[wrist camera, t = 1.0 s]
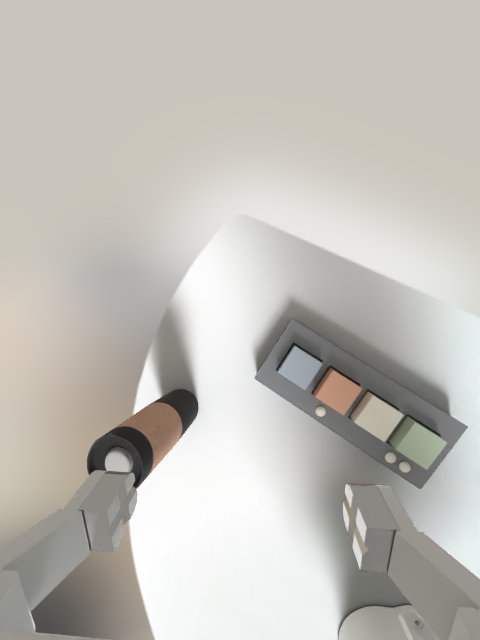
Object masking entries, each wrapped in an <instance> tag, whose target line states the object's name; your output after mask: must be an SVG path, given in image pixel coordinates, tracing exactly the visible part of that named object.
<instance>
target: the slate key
mask: <svg viewBox="0 0 480 640" xmlns="http://www.w3.org/2000/svg"><path fill="white" fill-rule="evenodd" d="M321 366H322V362H321V361H320V360H319V359H317V358H316V357H314V356H313V355H311V354H309V353H308V352H306V351H305V350H303V349H301V348H300V347H298V346H297V345H295V344H293V345H292V347H291V349H290V350H289V352H288V353H287V355H286V356H285V358H284V359H283V361H282V362H281V364H280V366H279V367H278V373H279V374H281V375H282V376H284V377H285V378H287V379H288V380H290V381H292V382H293V383H295V384H296V385H298V386H299V387H301V388H302V389H304V390H306V388H307V387H308V385H309V384H310V382H311V381H312V379H313V378H314V376H315V375H316V373H317V372H318V370H319V369H320V367H321Z"/></svg>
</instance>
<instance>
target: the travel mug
mask: <svg viewBox="0 0 480 640" xmlns="http://www.w3.org/2000/svg"><path fill="white" fill-rule="evenodd" d="M197 413H198V403H197V400H196V398H195V397H194V396H193V395H192V394H191V393H190V392H188V391H186V390H182V389H179V390H174V391H172V392H170V393H168V394H167V395H165V396H163V397H162V398H160V399H158V400H156V401H155V402H153V403H151V404H150V405H148V406H146V407H145V408H144V409H142V410H141V411H139V412H138V413H136V414H135V415H133V416H132V417H130V418H129V419H127V420H126V421H124V422H123V423H122V424H120V425H118V426H117V427H115V428H114V429H113V430H111V431H110V432H108V433H107V434H105V435H104V436H102V437H101V438H99V439H98V440H96V441H95V442H94V444H93V445H92V447H91V449H90V451H89V453H88V457H87V469H88V474H89V475H90V474H91V473H92V472H94V471H95V470H102V471H117V472H130V473H134V476H135V482H134V484H133V486H134V487H135V489H137V488H138V487H139V486H140V484H141V483H142V482H143V481H144V480H145V479H146V478H147V476H148V475H149V474H150V473H151V472H152V471H153V470H154V468H155V467H156V466H157V465H158V464H159V463H160V461H161V460H162V459H163V458H164V457H165V456H166V455H167V453H168V452H169V451H170V450H171V449H172V448H173V447H174V445H175V444H176V443H177V442H178V441H179V439H180V438H181V437H182V435H183V434H184V433H185V431H186V430H187V429H188V427H189V426H190V425H191V424H192V422H193V421H194V419H195V418H196V416H197Z"/></svg>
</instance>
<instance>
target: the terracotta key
mask: <svg viewBox="0 0 480 640" xmlns="http://www.w3.org/2000/svg"><path fill="white" fill-rule="evenodd" d="M361 390H362V388H361V387H360V386H359V385H357V384H356V383H355V382H354V381H352V380H351V379H349V378H347V377H346V376H344V375H343V374H341V373H340V372H338V371H336V370H335V369H333V368H332V367H330V366H329V367H328V368H327V370H326V371H325V373H324V374H323V376H322V377H321V379H320V380H319V382H318V383H317V385H316V386H315V388H314V389H313V393H314V395H315V397H316V398H318V399H319V400H321V401H322V402H324V403H325V404H327V405H328V406H330V407H331V408H333V409H334V410H336V411H337V412H339V413H340V414H342V415H345V413H346V412H347V410H348V409H349V407H350V406H351V405H352V403H353V402H354V400H355V399H356V397H357V396H358V395H359V393H360V392H361Z"/></svg>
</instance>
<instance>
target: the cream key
mask: <svg viewBox="0 0 480 640" xmlns="http://www.w3.org/2000/svg"><path fill="white" fill-rule="evenodd" d="M349 416H350V417H351V418H352V420H353V421H354V423H356V424H357V425H359V426H360V427H362V428H363V429H365V430H366V431H368V432H369V433H371V434H373V435H374V436H376V437H377V438H379V439H380V440H382V441H383V442H385V441H386V439H387V438H388V437H389V435H390V434H391V432H392V431H393V430H394V428H395V427H396V426H397V424H398V423H399V421H400V420H401V419H402V417H403V416H404V415H403V414H402V413H401V412H399V411H398V410H397V409H396V408H394V407H393V406H392V405H390V404H389V403H387V402H386V401H384V400H382V399H381V398H379V397H378V396H376V395H374V394H373V393H371V392H370V391H368V390H366V392H365V393H364V395H363V396H362V398H361V399H360V401H359V402H358V403H357V405H356V406H355V408H354V409H353V411H352V412H351V413H350V415H349Z"/></svg>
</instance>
